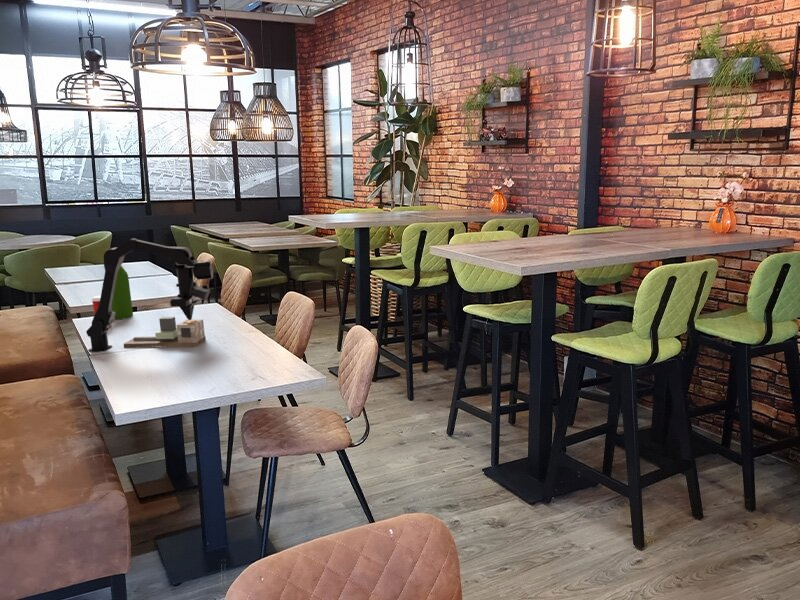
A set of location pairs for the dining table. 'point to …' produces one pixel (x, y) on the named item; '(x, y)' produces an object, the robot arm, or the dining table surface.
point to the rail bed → (186, 337)
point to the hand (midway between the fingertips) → (189, 319)
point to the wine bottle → (122, 296)
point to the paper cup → (96, 303)
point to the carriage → (167, 328)
